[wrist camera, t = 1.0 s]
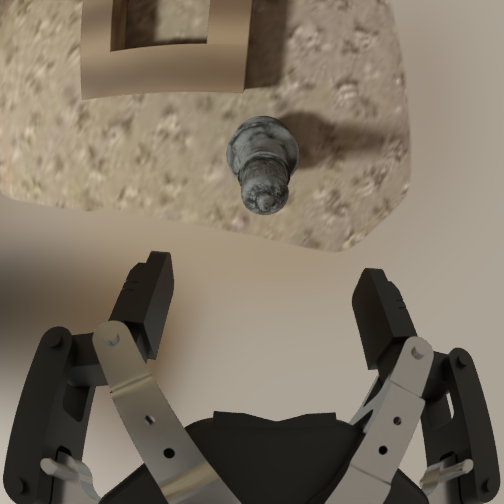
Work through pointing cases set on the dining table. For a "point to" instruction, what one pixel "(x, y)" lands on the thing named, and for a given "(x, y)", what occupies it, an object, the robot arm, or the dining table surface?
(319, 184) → the dining table surface
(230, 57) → the tan picture frame
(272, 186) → the grey tall tiered piece
